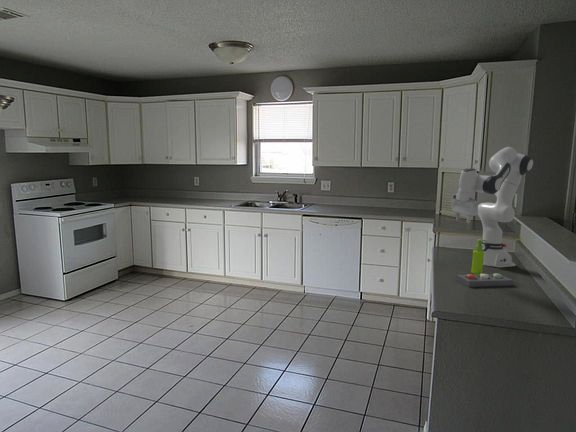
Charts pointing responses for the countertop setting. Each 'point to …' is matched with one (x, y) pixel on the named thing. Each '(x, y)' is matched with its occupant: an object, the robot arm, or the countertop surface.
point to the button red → (470, 276)
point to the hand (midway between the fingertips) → (462, 221)
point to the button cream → (484, 276)
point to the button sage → (497, 275)
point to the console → (484, 281)
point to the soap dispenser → (478, 258)
